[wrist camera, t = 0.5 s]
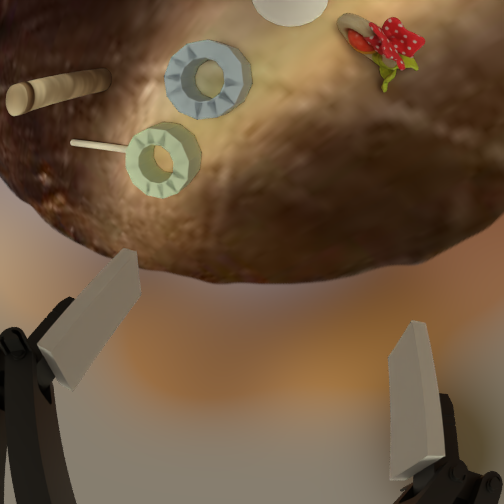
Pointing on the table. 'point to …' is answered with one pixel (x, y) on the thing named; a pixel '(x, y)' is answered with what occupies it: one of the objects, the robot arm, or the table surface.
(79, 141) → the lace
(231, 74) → the blue bead
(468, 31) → the table surface
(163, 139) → the bead
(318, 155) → the table surface
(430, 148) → the table surface
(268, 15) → the wineglass
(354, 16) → the red green lumpy piece
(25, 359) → the robot arm
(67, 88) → the wooden dowel
